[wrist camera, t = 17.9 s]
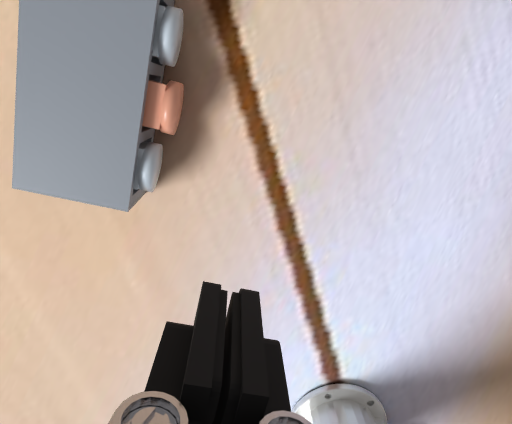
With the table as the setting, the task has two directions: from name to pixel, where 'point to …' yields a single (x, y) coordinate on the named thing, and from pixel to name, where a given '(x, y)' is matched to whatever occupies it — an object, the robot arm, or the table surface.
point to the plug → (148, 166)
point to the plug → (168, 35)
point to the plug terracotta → (163, 106)
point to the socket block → (83, 97)
